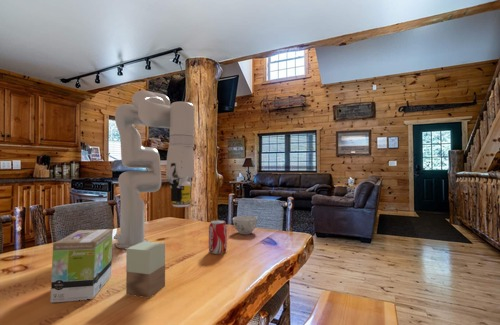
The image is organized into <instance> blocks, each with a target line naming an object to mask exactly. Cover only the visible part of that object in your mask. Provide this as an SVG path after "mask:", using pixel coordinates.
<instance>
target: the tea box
mask: <svg viewBox="0 0 500 325" xmlns="http://www.w3.org/2000/svg"><path fill="white" fill-rule="evenodd" d="M112 255H113V229H109V228H107V229H105V228H104V229H80V230H79V229H78V230H76V231H74V232H72V233H70V234H69V235H67V236H65V237H63V238H60V239H59V240H57V241H55V242H53V244H52V261H51V285H50V286H51V288H50V300H49V301H50V302H49V303H68V302H78V301H79V300H80V301H88V300H87V299H90V300H93V299H94V298H95V297H96V295H97V294H98V293H99V292H100V290H102V288H103V286H104V285H105V284H106V283H107V281H109V279H110V278H111V276H112V265H113V264H112V260H113V256H112Z"/></svg>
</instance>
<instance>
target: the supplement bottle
mask: <svg viewBox="0 0 500 325" xmlns="http://www.w3.org/2000/svg"><path fill="white" fill-rule="evenodd" d="M175 177H178V176H175ZM178 178H179V177H178ZM176 181H177V182H178V180H176ZM190 187H191V188H192V186H191V185H190V182H188V176H187V177H186V178H182V180H181V186H180V188H182V197H181V201H180V202H175V201H171V202H172V203H171V205H172V207H175V208H185V207H186V208H187V207H190V206H191V199H190Z"/></svg>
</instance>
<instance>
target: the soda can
mask: <svg viewBox="0 0 500 325" xmlns="http://www.w3.org/2000/svg"><path fill="white" fill-rule="evenodd" d="M227 237H228V226H227V224H226V221H225V220H223V219H222V220H221V219H216V220H215V219H214V220H211V221H210V224H209V226H208V251H209V252H210V253H211V254H213V255H222V254H224V253H225V252H226V251H227V248H228V238H227Z"/></svg>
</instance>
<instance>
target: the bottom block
mask: <svg viewBox="0 0 500 325" xmlns="http://www.w3.org/2000/svg"><path fill="white" fill-rule="evenodd" d="M125 273H126V277H125V278H126V283H125V284H126V286H125V288H126V290H125V293H126V294H129V295H128V296H133V295H136V296H135V297H140V296H143V297H142V298H147V297H149V298H151V297H153V296H154V295H155V294H157V293H158V292H159V291H161V290H162V289H163V288H164V287H166V286H165V285H166V264H165V265H164V266H162V267H161V268H159V269H157V270H156V271H154V272H152V273H151V274H142V273H134V272H126V271H125ZM156 292H157V293H156ZM126 294H125V295H126ZM152 295H153V296H152ZM149 298H148V299H149Z"/></svg>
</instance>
